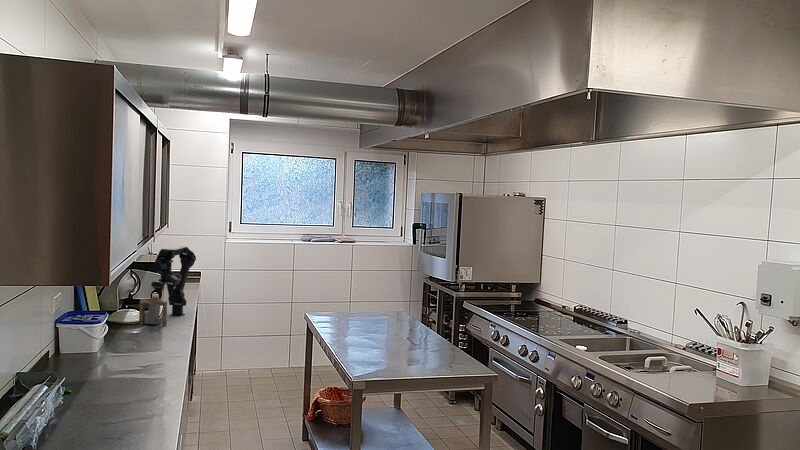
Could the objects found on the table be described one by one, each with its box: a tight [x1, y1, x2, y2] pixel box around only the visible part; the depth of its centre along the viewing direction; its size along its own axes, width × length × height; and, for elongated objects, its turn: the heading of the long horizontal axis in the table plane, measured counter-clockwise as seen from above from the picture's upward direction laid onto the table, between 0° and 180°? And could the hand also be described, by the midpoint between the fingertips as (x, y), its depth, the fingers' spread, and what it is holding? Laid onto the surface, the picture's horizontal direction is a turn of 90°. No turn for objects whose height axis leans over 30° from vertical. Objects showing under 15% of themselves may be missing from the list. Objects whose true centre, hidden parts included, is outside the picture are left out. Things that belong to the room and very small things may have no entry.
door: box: [144, 310, 148, 324], centre depth 343 cm, size 12×1×6 cm, turn 166°
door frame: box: [138, 298, 168, 328], centre depth 334 cm, size 2×16×14 cm, turn 76°
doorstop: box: [144, 292, 162, 325], centre depth 337 cm, size 6×6×17 cm
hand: (165, 297), depth 349 cm, fingers open, 9 cm apart
